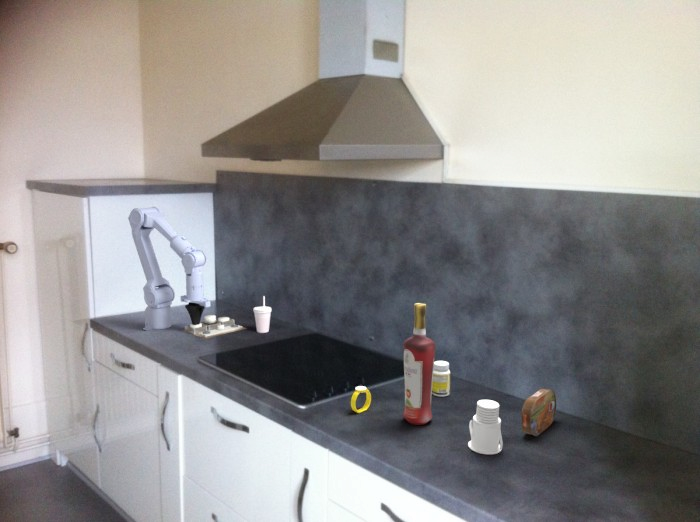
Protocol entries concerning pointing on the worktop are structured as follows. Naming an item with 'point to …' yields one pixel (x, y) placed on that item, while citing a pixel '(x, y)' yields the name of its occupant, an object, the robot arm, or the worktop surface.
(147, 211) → the robot arm
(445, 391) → the supplement bottle
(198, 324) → the button near
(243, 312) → the worktop surface
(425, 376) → the liquor
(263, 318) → the smoothie
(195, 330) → the console
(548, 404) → the tin
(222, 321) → the button far
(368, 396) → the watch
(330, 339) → the worktop surface
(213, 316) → the button mid
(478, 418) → the downlight
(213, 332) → the strip
